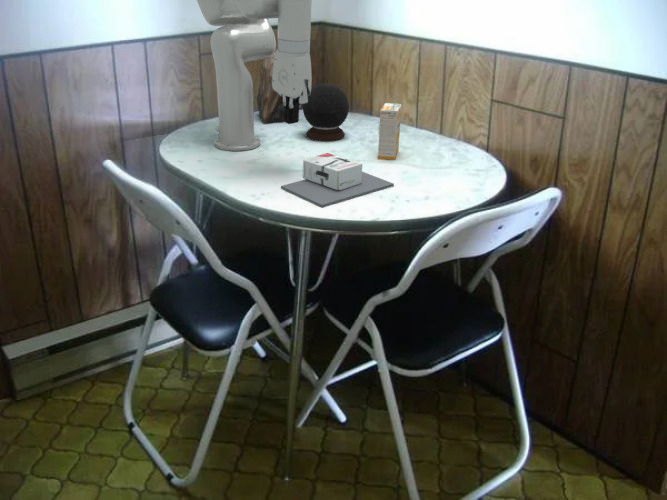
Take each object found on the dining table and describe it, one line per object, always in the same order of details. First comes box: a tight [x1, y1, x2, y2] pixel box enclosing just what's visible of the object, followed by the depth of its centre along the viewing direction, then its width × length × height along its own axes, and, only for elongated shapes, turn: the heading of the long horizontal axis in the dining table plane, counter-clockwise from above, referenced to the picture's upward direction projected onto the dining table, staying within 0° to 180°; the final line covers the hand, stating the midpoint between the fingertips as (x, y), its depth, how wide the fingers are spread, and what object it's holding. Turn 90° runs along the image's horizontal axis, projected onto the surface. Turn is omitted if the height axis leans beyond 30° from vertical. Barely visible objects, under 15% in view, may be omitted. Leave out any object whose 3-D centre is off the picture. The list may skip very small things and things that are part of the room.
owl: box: [256, 52, 285, 125], centre depth 214 cm, size 13×13×20 cm
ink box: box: [302, 152, 363, 190], centre depth 164 cm, size 8×5×12 cm
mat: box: [280, 171, 395, 208], centre depth 163 cm, size 15×22×1 cm
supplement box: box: [377, 102, 402, 160], centre depth 183 cm, size 8×5×13 cm, turn 168°
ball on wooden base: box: [302, 83, 350, 143], centre depth 198 cm, size 13×13×15 cm
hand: (291, 122), depth 170 cm, fingers closed
